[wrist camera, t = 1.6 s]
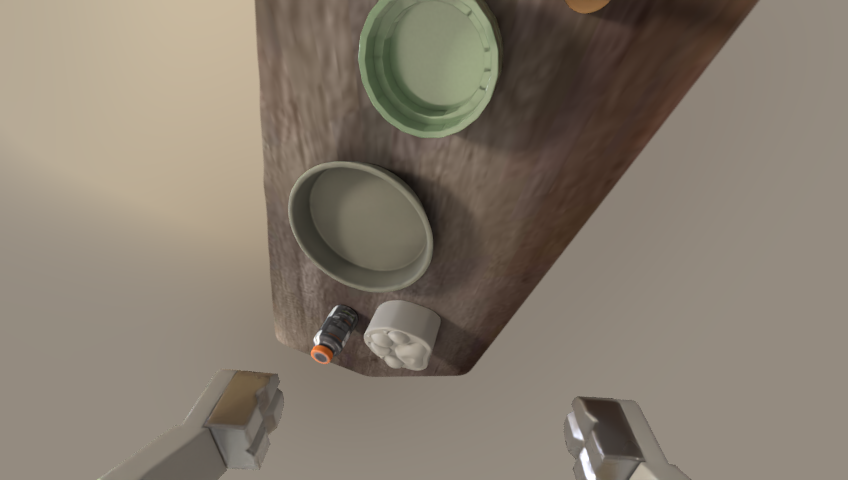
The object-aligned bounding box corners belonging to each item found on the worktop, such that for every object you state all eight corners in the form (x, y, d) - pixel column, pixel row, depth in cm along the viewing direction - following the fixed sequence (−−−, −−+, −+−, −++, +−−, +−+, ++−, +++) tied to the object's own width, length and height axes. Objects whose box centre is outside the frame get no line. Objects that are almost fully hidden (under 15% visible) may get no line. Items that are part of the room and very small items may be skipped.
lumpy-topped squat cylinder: (434, 345, 75) (422, 382, 69) (375, 326, 77) (358, 359, 70) (443, 312, 69) (432, 349, 62) (379, 292, 71) (361, 325, 64)
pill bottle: (328, 306, 78) (299, 348, 69) (349, 302, 75) (322, 345, 66) (342, 325, 80) (317, 369, 71) (364, 322, 77) (340, 366, 69)
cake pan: (383, 296, 71) (374, 313, 68) (280, 213, 66) (265, 226, 62) (471, 229, 57) (466, 245, 53) (348, 115, 52) (334, 126, 48)
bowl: (368, -12, 42) (345, -11, 37) (505, -30, 38) (499, -31, 33) (388, 123, 51) (372, 138, 46) (502, 121, 47) (497, 137, 42)
